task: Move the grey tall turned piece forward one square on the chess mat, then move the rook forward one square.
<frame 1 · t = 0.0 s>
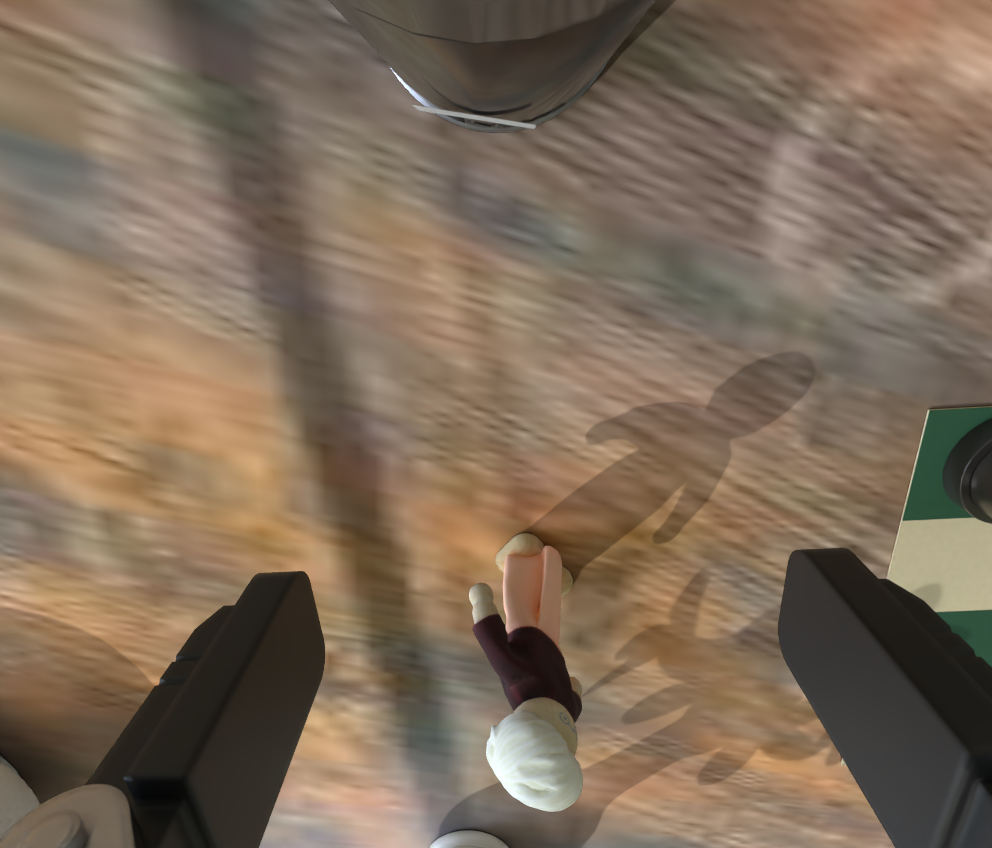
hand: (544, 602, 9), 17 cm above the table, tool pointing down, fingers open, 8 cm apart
grandmother figurine: (528, 558, 30), on the table
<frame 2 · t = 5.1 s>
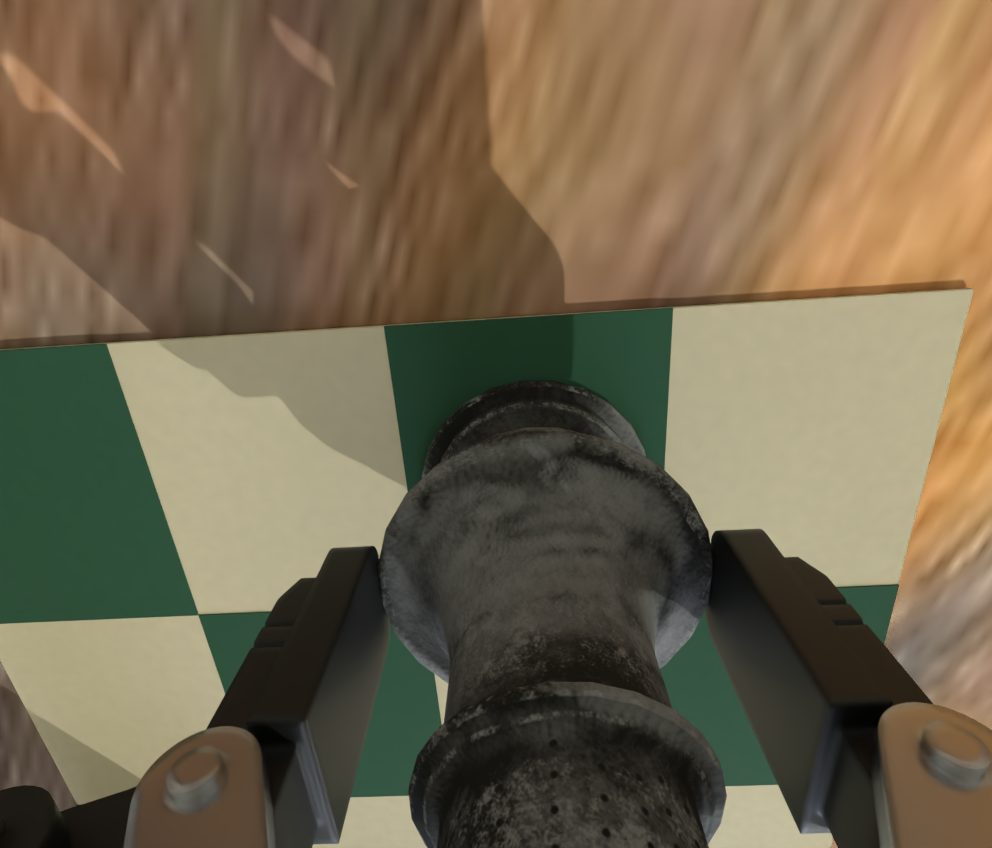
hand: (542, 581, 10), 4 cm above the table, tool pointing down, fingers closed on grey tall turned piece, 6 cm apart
grey tall turned piece: (534, 483, 13), resting on chess mat, touching gripper
chess mat: (439, 704, 16), on the table
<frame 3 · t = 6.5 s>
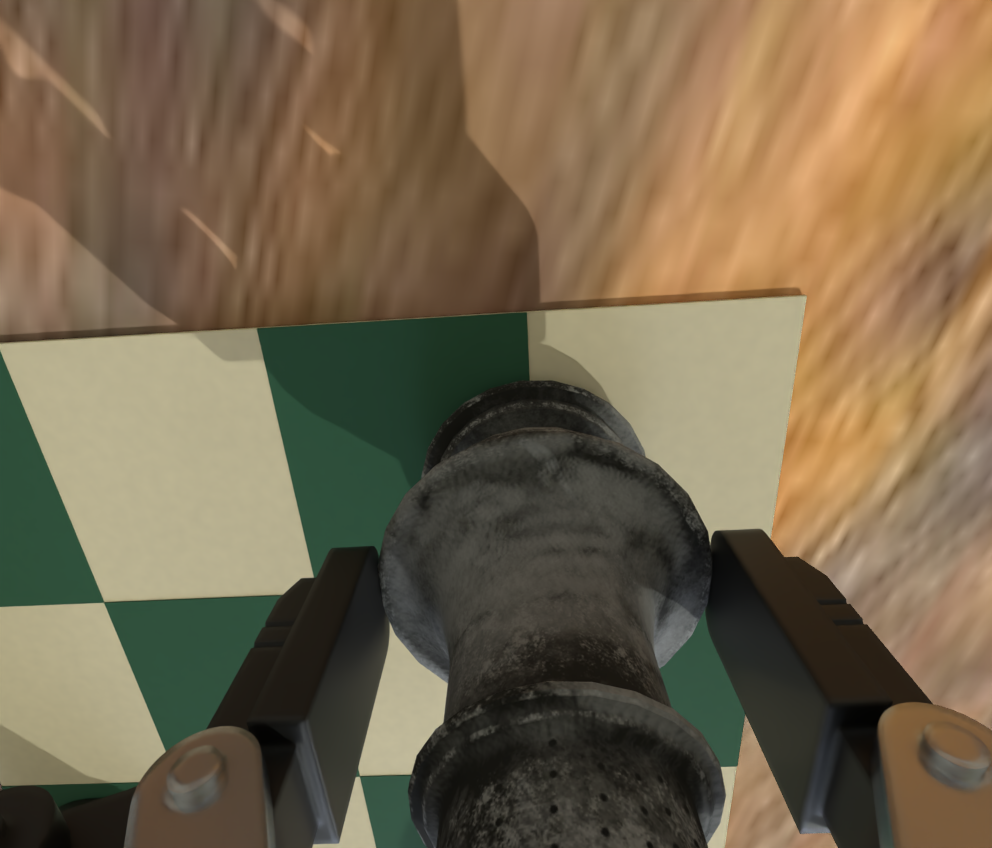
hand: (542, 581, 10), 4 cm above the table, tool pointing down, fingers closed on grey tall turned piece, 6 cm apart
grey tall turned piece: (534, 483, 13), point 1 cm above the table, touching gripper
chess mat: (341, 689, 17), on the table
when the fingers open (4 cm above the table, at t = 8.4 s): grey tall turned piece stays where it is, resting on chess mat.
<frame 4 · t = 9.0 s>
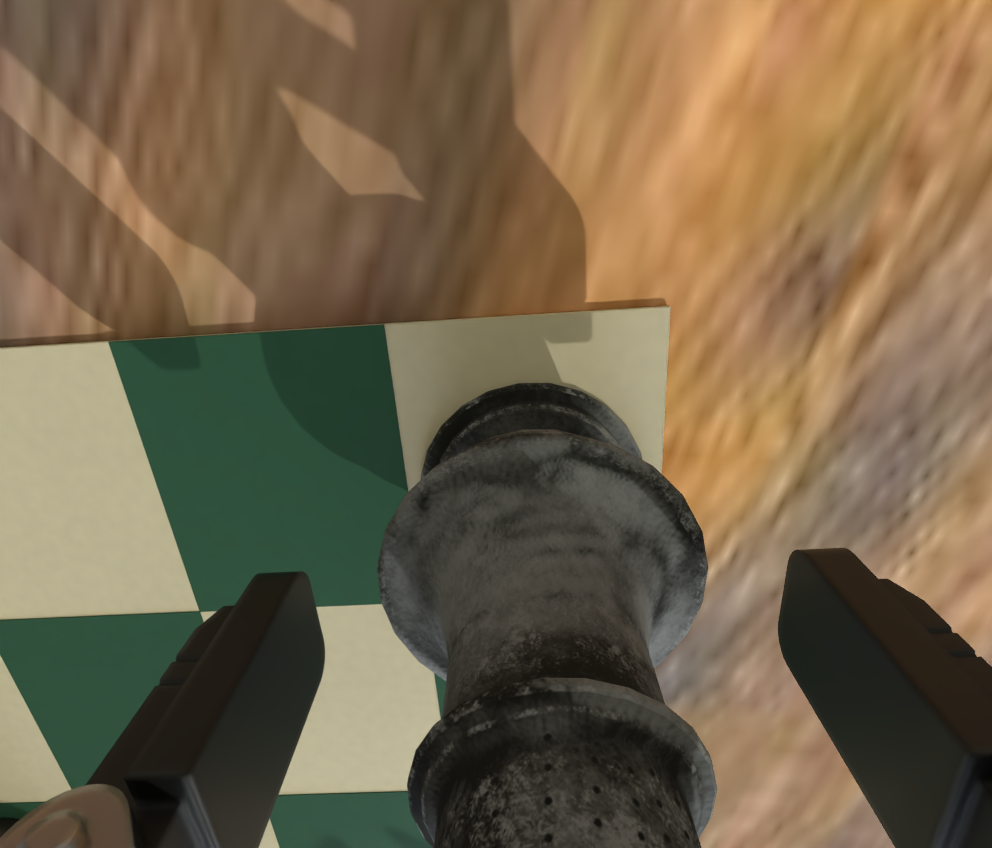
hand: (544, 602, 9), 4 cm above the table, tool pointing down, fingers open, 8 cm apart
grey tall turned piece: (532, 484, 14), resting on chess mat
chess mat: (235, 707, 16), on the table
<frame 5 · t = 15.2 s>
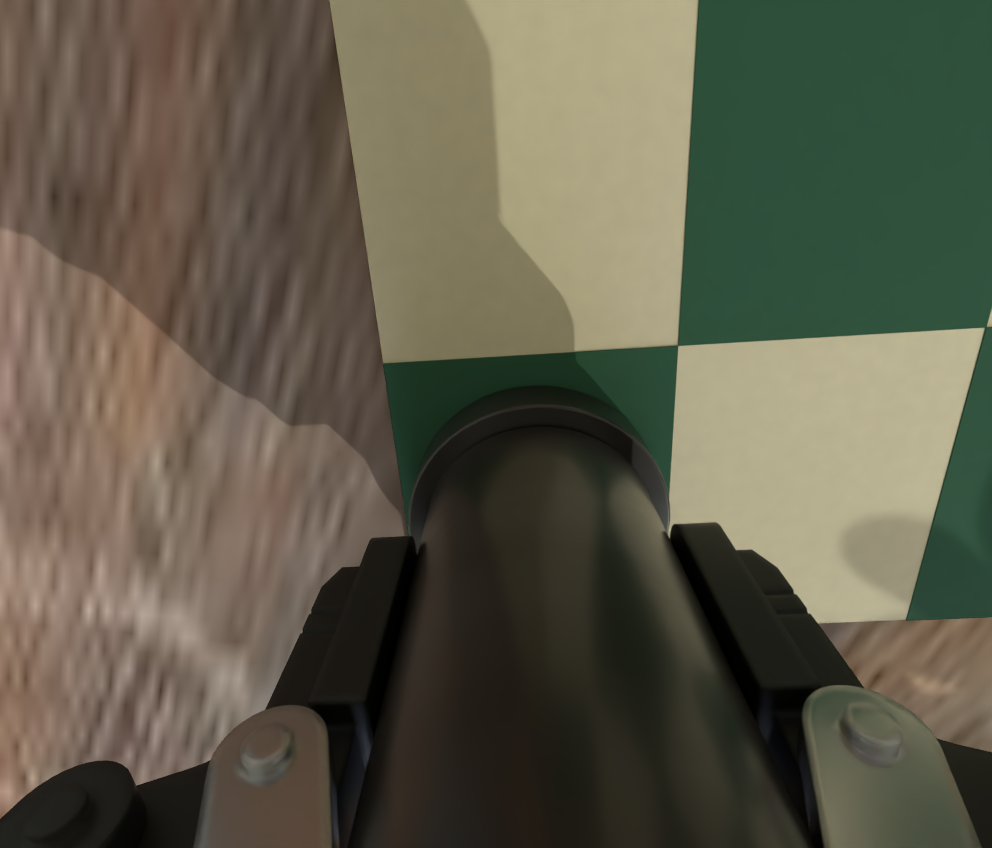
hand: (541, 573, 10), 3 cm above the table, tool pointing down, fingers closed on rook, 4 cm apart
rook: (535, 498, 13), resting on chess mat, touching gripper
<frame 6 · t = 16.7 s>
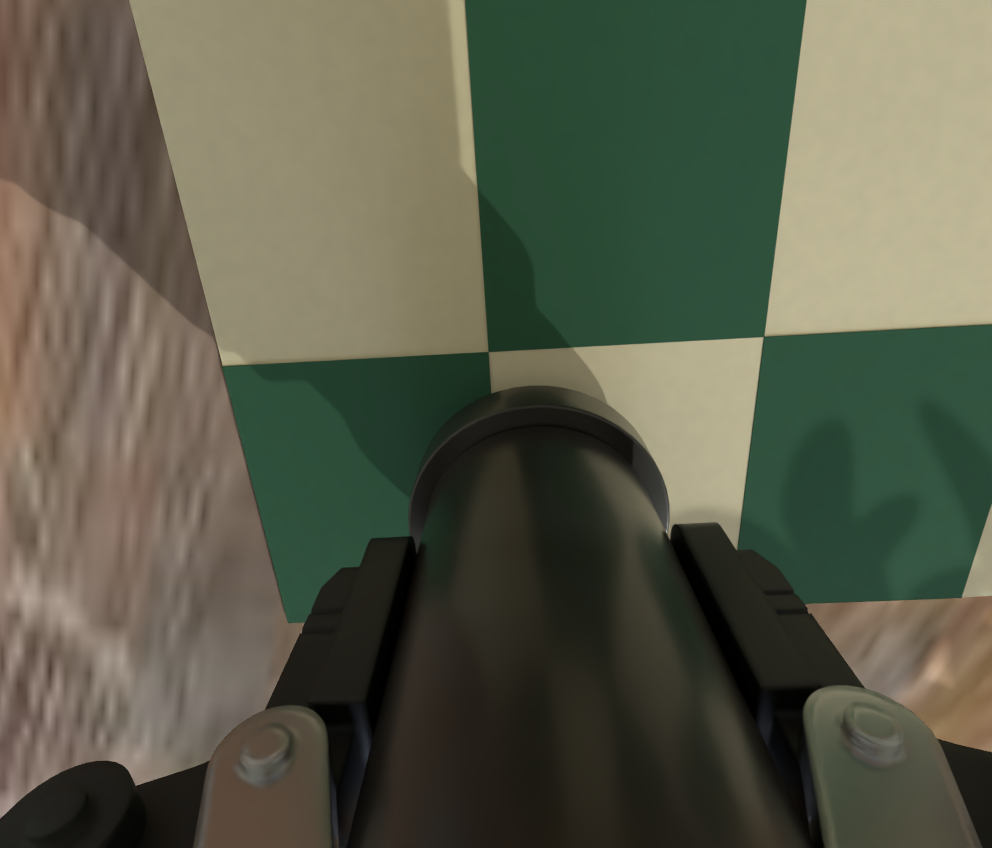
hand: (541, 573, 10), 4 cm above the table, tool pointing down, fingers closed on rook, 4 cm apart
chess mat: (784, 150, 11), on the table
rook: (535, 497, 13), point 1 cm above the table, touching gripper
when the fingers open (3 cm above the table, at t = 18.3 s): rook stays where it is, resting on chess mat.
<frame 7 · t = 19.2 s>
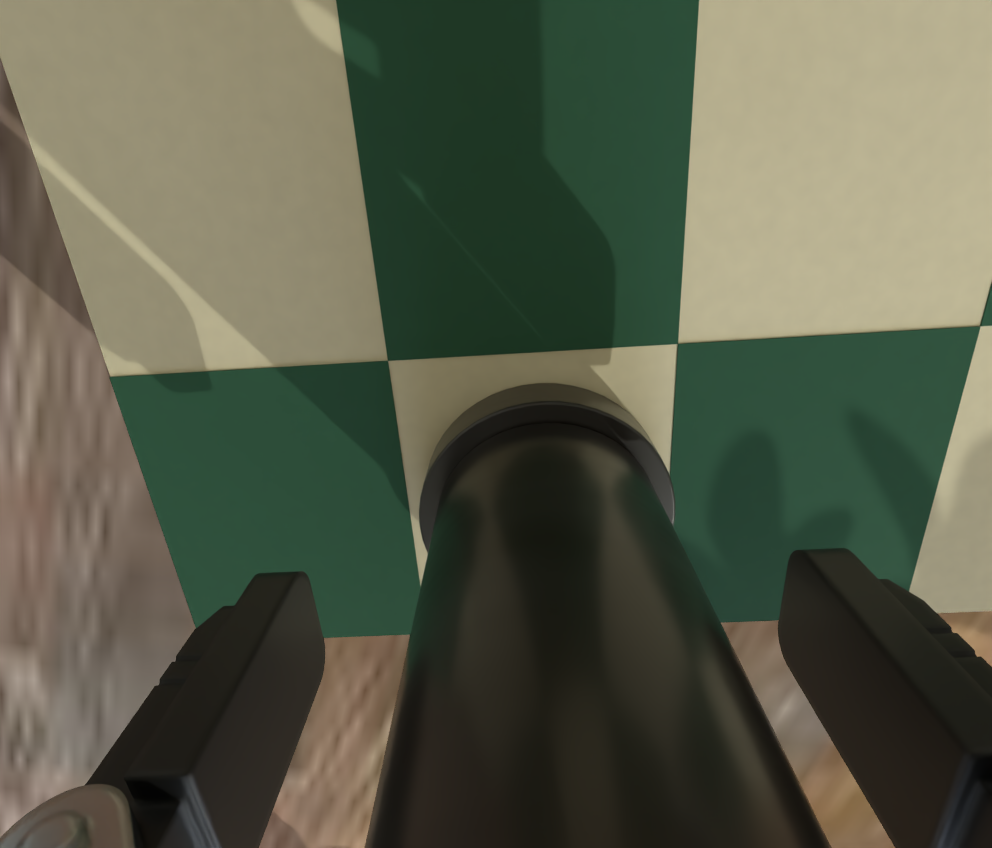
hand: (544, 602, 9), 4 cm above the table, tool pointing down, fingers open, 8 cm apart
chess mat: (687, 145, 10), on the table
rook: (543, 493, 13), resting on chess mat
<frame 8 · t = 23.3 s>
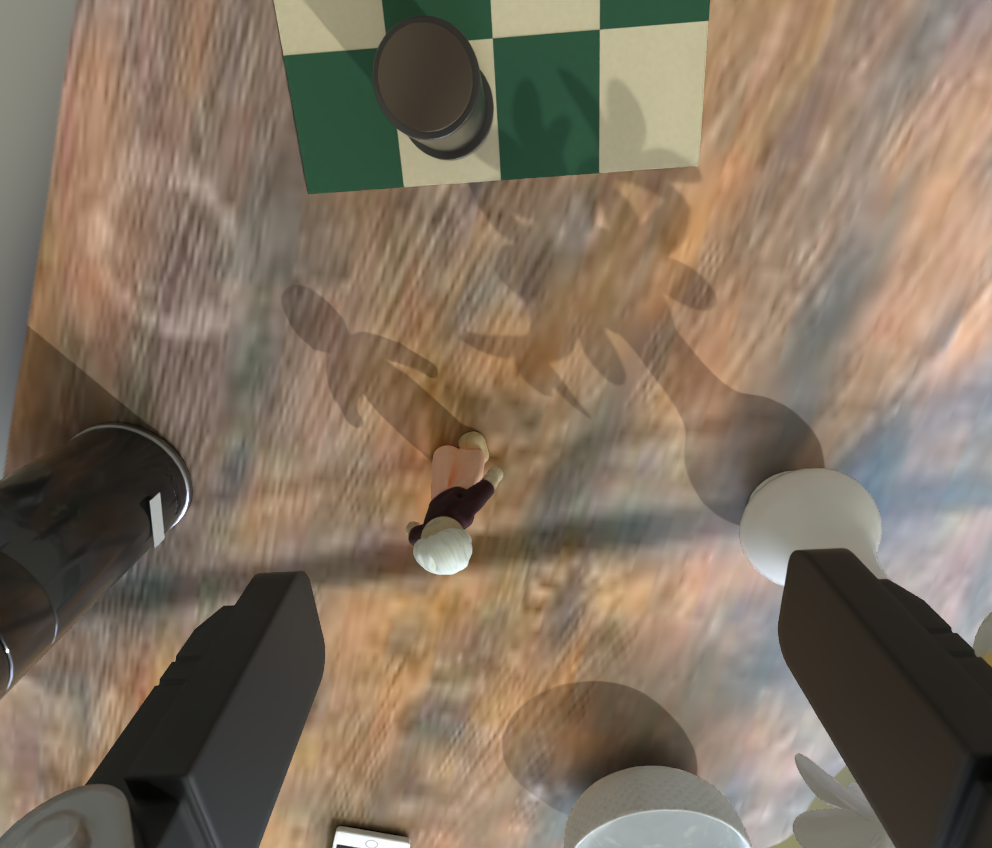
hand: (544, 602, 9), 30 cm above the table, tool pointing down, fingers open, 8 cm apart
grandmother figurine: (457, 459, 42), on the table
cereal bowl: (641, 791, 56), on the table
flower vase: (785, 511, 44), on the table
rook: (448, 110, 33), resting on chess mat
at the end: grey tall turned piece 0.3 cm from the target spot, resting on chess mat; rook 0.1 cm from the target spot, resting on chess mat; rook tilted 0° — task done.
